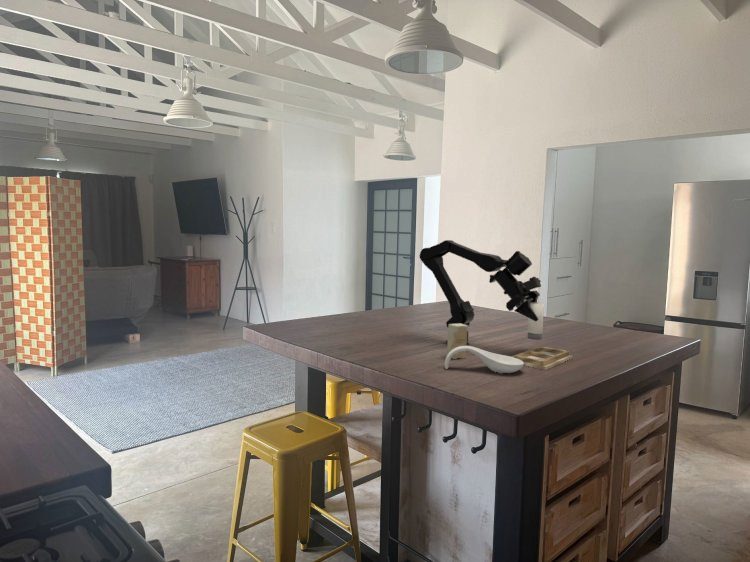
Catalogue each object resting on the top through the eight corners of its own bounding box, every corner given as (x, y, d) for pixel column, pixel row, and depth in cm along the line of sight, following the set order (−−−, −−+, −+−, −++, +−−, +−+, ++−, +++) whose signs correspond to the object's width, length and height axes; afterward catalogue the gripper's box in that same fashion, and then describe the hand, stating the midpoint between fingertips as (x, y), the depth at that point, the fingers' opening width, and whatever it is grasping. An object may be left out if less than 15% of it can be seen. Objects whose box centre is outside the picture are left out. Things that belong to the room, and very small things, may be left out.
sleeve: (525, 338, 179) (527, 303, 178) (530, 336, 183) (531, 301, 182) (539, 340, 177) (541, 304, 175) (543, 338, 181) (545, 303, 179)
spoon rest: (519, 367, 166) (520, 345, 165) (526, 378, 154) (528, 354, 154) (443, 363, 168) (444, 341, 167) (445, 373, 157) (446, 350, 156)
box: (453, 359, 173) (455, 326, 172) (446, 356, 177) (447, 323, 176) (466, 358, 175) (468, 325, 174) (459, 355, 179) (460, 322, 178)
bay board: (504, 361, 172) (504, 354, 172) (533, 351, 187) (533, 344, 187) (545, 370, 162) (546, 362, 162) (572, 358, 178) (572, 351, 178)
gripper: (517, 270, 172) (549, 307, 167) (535, 267, 187) (565, 301, 182) (493, 292, 177) (523, 329, 172) (513, 287, 193) (541, 321, 188)
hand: (539, 319), depth 178 cm, fingers closed on sleeve, 5 cm apart
